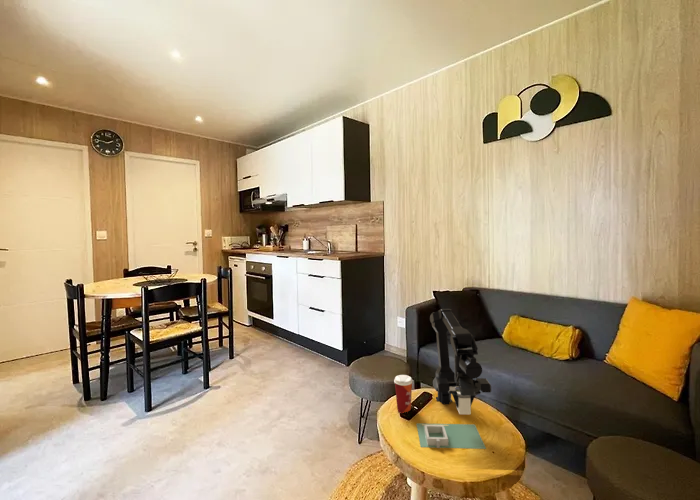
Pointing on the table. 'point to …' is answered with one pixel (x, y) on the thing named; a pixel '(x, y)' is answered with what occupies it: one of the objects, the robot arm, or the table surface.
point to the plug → (464, 404)
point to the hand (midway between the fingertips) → (463, 407)
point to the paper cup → (403, 392)
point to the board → (449, 436)
